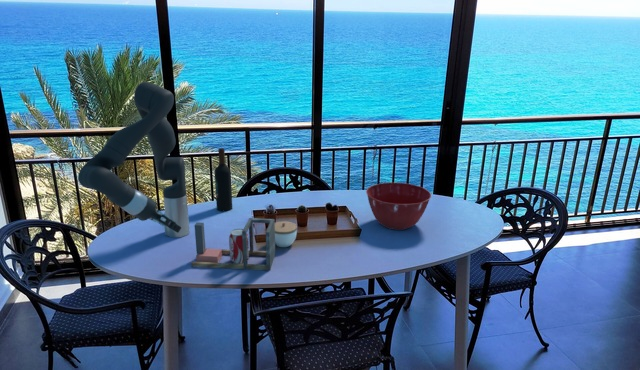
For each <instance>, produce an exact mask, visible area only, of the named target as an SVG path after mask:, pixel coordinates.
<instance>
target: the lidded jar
mask: <svg viewBox="0 0 640 370" xmlns="http://www.w3.org/2000/svg"><path fill="white" fill-rule="evenodd" d="M297 229H298V227H297V224H296V223H294V222H291V221H277V222H275V246H277V247H278V248H279V247H280V248H287V247H291V245H292V244H293V243H294V242H295V240H296V239H297V232H298V230H297Z"/></svg>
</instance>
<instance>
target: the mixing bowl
mask: <svg viewBox="0 0 640 370" xmlns="http://www.w3.org/2000/svg"><path fill="white" fill-rule="evenodd" d="M366 195H367V199H368V204H369V206H370V207H369V208H370V210H371V212H372V214H373V216H374V218H375V220H376V221H377V222H378V224H380V225H382V226H383V227H385V228H387V229H390V230H394V231H395V230H396V231H401V230H402V231H403V230H406V229H409V228H411V227H413V226H415V225H417V223H418V222H420V221H419V220H421V218H422V217H423V215H424V213H425V211H426V209H427V206H428V204H429V201H430V199H431V198H432V193H431V192H430V191H429V190H428V189H426V188H425V187H422V186H419V185H417V184H416V185H415V184H411V183H405V182H382V183H378V184H373V185H370V186H369V187H368V188H367V189H366Z"/></svg>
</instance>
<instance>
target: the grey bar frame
mask: <svg viewBox="0 0 640 370" xmlns="http://www.w3.org/2000/svg"><path fill="white" fill-rule="evenodd" d="M275 221H276V220H275V218H256V217H254V218H253V217H252V218H251V217H250V218H248V220H247V222H246V224H245V226H244V227H243V228H242V229H243V231H242V237H243V261H244V263H243V264H236V263H233V262H218V263H213V262H196V261H191V262H190V267H192V268H207V269H208V268H211V269H212V268H213V269H228V270H229V269H233V270H256V271H271V269H272V265H273V264H274V263H273V262H274V261H275V260H274V259H275V257H276V244H275V223H276V222H275ZM255 223H256V224H268V227H267V228H266V232H265V239H266V240H265V246H266V247H265V249H266V250H254V248H255V247H254V226H253V225H254V224H255ZM246 233H247V234H248V242H249V256H253V257H254V256H260V257H265V258H266V264H257V263H248V261H249V259H247V234H246ZM222 255H230V249H229V248H226V249H225V248H222Z"/></svg>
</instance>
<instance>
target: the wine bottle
mask: <svg viewBox="0 0 640 370" xmlns="http://www.w3.org/2000/svg"><path fill="white" fill-rule="evenodd" d="M217 151H218V152H217V153H218V163H219V164H218V166H217V167H215V169H214V184H215V185H214V186H215V187H214V188H215V200H216V211H218V212H229V211H232V210H233V193H232V189H233V188H232V173H231V172H232V171H231V169H230V167H229V166H227V165H226V155H225V148H224V147H221V148H218V150H217Z"/></svg>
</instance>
